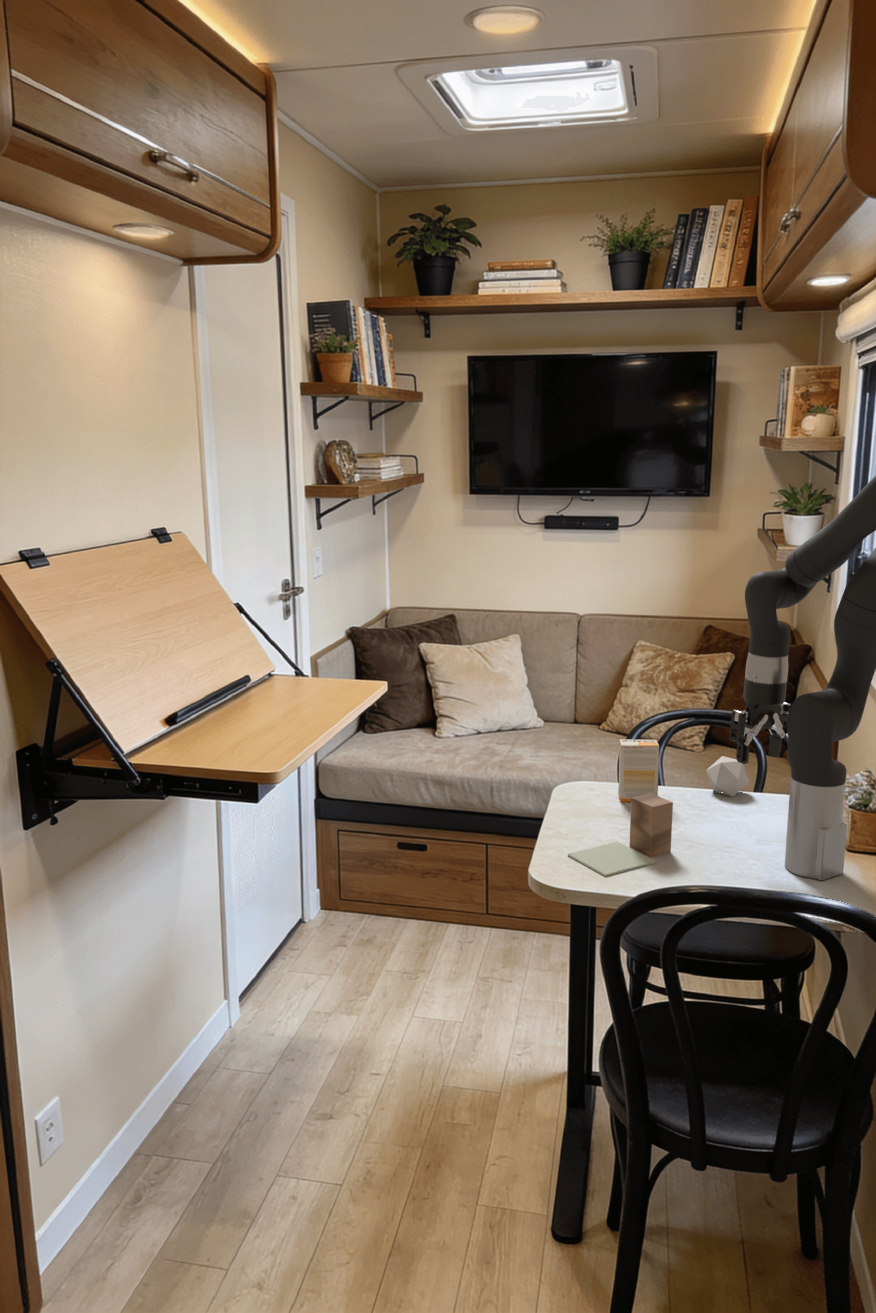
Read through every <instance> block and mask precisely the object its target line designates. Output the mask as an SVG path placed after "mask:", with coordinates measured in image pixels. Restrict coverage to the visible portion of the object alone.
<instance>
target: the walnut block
mask: <svg viewBox="0 0 876 1313" xmlns="http://www.w3.org/2000/svg"><path fill="white" fill-rule="evenodd" d="M673 805H674V802H672V801H671V800H668V799H666V798H664V797H661V796H659V795H658V796H657V795H654V794H652V793H650V794H645V795H641V796H637V797H632V798H631V802H630V824H629V848H631V849H633V850H635V851H637V852H639V853H641V854H643V855H645V856H647V857H649V858H653V857H659V856H660V855H666V854H668V853H669V854H670V853H671V850H672V834H673V833H672V832H673V831H672V830H673V810H674V809H673V807H674V806H673Z"/></svg>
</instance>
